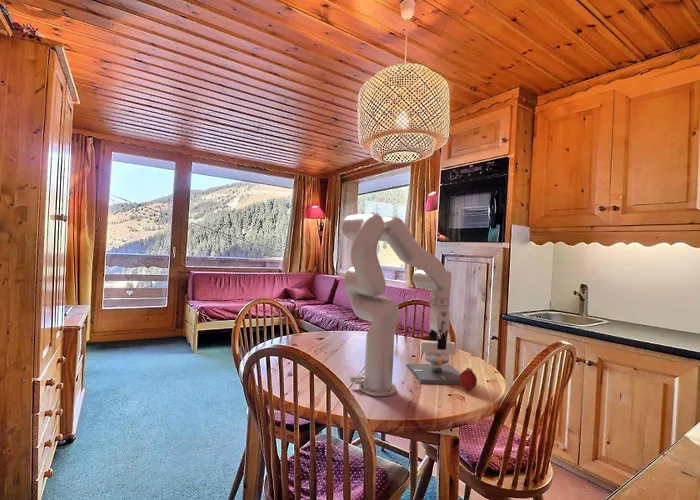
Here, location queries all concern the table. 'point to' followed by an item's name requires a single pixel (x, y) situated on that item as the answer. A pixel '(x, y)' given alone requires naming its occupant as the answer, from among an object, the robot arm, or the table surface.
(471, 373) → the onion
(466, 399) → the table surface
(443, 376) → the base
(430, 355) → the cap
